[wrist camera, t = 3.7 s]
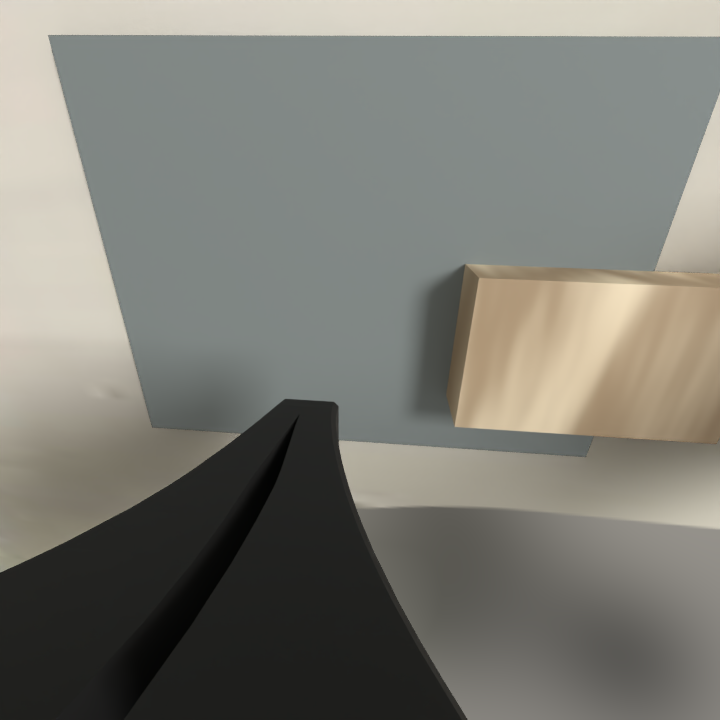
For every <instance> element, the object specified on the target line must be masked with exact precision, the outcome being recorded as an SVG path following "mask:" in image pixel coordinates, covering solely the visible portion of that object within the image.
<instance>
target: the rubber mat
mask: <svg viewBox="0 0 720 720" xmlns="http://www.w3.org/2000/svg"><path fill="white" fill-rule="evenodd" d="M48 37H49V40H50V44H51V48H52V52H53V55H54V59H55V63H56V67H57V70H58V74H59V78H60V82H61V86H62V89H63V93H64V97H65V101H66V104H67V108H68V112H69V116H70V119H71V123H72V127H73V131H74V135H75V138H76V142H77V146H78V150H79V153H80V157H81V161H82V165H83V168H84V172H85V176H86V180H87V183H88V187H89V191H90V195H91V199H92V202H93V206H94V210H95V214H96V217H97V221H98V225H99V229H100V232H101V236H102V240H103V244H104V248H105V251H106V255H107V259H108V263H109V266H110V270H111V274H112V278H113V281H114V285H115V289H116V293H117V296H118V300H119V304H120V308H121V312H122V315H123V319H124V323H125V327H126V330H127V334H128V338H129V342H130V345H131V349H132V353H133V357H134V360H135V364H136V368H137V372H138V376H139V379H140V383H141V387H142V391H143V394H144V398H145V402H146V406H147V409H148V413H149V417H150V421H151V425H152V427H155V428H170V429H185V430H199V431H214V432H228V433H243V432H245V431H246V430H247V429H249V428H250V427H251V426H252V425H254V424H255V423H256V422H257V421H258V420H260V419H261V418H262V417H263V416H264V415H266V414H267V413H268V412H269V411H271V410H272V409H273V408H274V407H275V406H277V405H278V404H279V403H280V402H282V401H283V400H284V399H298V400H314V401H330V402H335V403H336V404H337V405H338V406H339V440H345V441H360V442H374V443H389V444H403V445H418V446H432V447H447V448H462V449H476V450H491V451H505V452H520V453H535V454H549V455H564V456H578V457H586V455H587V453H588V450H589V447H590V445H591V442H592V439H593V436H586V435H571V434H556V433H540V432H525V431H510V430H494V429H479V428H464V427H454V423H453V419H452V415H451V411H450V408H449V404H448V400H447V396H446V393H447V386H448V379H449V372H450V365H451V358H452V352H453V345H454V338H455V331H456V324H457V317H458V310H459V304H460V297H461V290H462V283H463V276H464V269H465V264H478V265H504V266H529V267H555V268H581V269H606V270H632V271H654V270H655V267H656V265H657V262H658V259H659V256H660V254H661V251H662V248H663V245H664V243H665V240H666V237H667V235H668V232H669V229H670V226H671V224H672V221H673V218H674V215H675V213H676V210H677V207H678V205H679V202H680V199H681V196H682V194H683V191H684V188H685V185H686V183H687V180H688V177H689V175H690V172H691V169H692V166H693V164H694V161H695V158H696V155H697V153H698V150H699V147H700V145H701V142H702V139H703V136H704V134H705V131H706V128H707V125H708V123H709V120H710V117H711V115H712V112H713V109H714V106H715V104H716V101H717V98H718V95H719V93H720V37H583V36H191V35H48Z"/></svg>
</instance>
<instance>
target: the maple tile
mask: <svg viewBox="0 0 720 720" xmlns="http://www.w3.org/2000/svg"><path fill="white" fill-rule="evenodd" d="M446 396H447V400H448V404H449V408H450V411H451V415H452V419H453V423H454V427H464V428H479V429H494V430H510V431H525V432H540V433H556V434H571V435H586V436H602V437H617V438H632V439H648V440H663V441H678V442H694V443H709V444H717V442H718V440H719V438H720V274H709V273H683V272H657V271H632V270H606V269H581V268H555V267H529V266H504V265H478V264H465V269H464V276H463V283H462V290H461V297H460V304H459V310H458V317H457V324H456V331H455V338H454V345H453V352H452V358H451V365H450V372H449V379H448V386H447V393H446Z"/></svg>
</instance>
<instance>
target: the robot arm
mask: <svg viewBox="0 0 720 720" xmlns="http://www.w3.org/2000/svg"><path fill="white" fill-rule="evenodd" d="M0 720H467V718H466V716H465V715H464V713H463V711H462V710H461V708H460V706H459V705H458V703H457V702H456V700H455V698H454V697H453V696H452V693H451V692H450V690H449V689H448V687H447V685H446V684H445V682H444V681H443V679H442V678H441V676H440V674H439V672H438V671H437V669H436V667H435V666H434V664H433V662H432V660H431V659H430V657H429V655H428V654H427V652H426V650H425V648H424V647H423V645H422V643H421V642H420V640H419V638H418V636H417V634H416V633H415V631H414V629H413V627H412V625H411V624H410V622H409V620H408V618H407V616H406V615H405V613H404V611H403V609H402V608H401V606H400V604H399V602H398V600H397V598H396V596H395V594H394V592H393V590H392V588H391V586H390V584H389V582H388V579H387V578H386V575H385V573H384V572H383V569H382V567H381V565H380V563H379V561H378V559H377V557H376V555H375V553H374V551H373V549H372V547H371V544H370V542H369V539H368V537H367V535H366V532H365V530H364V528H363V525H362V523H361V520H360V517H359V515H358V512H357V509H356V507H355V504H354V501H353V498H352V495H351V492H350V489H349V486H348V482H347V479H346V475H345V472H344V468H343V464H342V460H341V455H340V450H339V406H338V405H337V404H336V403H335V402H330V401H314V400H298V399H284V400H283V401H282V402H280V403H279V404H278V405H277V406H275V407H274V408H273V409H272V410H271V411H269V412H268V413H267V414H266V415H264V416H263V417H262V418H261V419H260V420H258V421H257V422H256V423H255V424H254V425H252V426H251V427H250V428H249V429H247V430H246V431H245V432H243V433H242V434H241V435H240V436H238V437H237V438H236V439H235V440H233V441H232V442H231V443H229V444H228V445H227V446H225V447H224V448H223V449H221V450H220V451H218V452H217V453H216V454H214V455H213V456H211V457H210V458H209V459H207V460H206V461H204V462H203V463H202V464H200V465H199V466H197V467H196V468H195V469H193V470H192V471H190V472H189V473H187V474H186V475H184V476H183V477H181V478H180V479H178V480H177V481H175V482H173V483H172V484H170V485H169V486H167V487H165V488H164V489H162V490H160V491H159V492H157V493H155V494H154V495H152V496H150V497H149V498H147V499H145V500H144V501H142V502H140V503H139V504H137V505H135V506H133V507H132V508H130V509H128V510H126V511H124V512H122V513H120V514H119V515H117V516H115V517H113V518H111V519H109V520H107V521H105V522H103V523H101V524H100V525H98V526H96V527H94V528H92V529H90V530H88V531H86V532H84V533H82V534H81V535H79V536H77V537H75V538H73V539H71V540H69V541H67V542H65V543H63V544H61V545H59V546H57V547H55V548H53V549H51V550H48V551H46V552H44V553H42V554H40V555H38V556H36V557H34V558H32V559H29V560H27V561H25V562H23V563H21V564H19V565H16V566H14V567H12V568H10V569H7V570H5V571H3V572H1V573H0Z"/></svg>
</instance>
